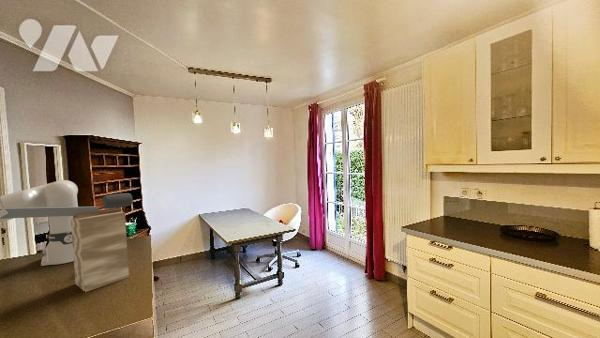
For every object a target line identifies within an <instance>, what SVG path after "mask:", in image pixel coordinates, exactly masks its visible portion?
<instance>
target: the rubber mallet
mask: <svg viewBox="0 0 600 338" xmlns="http://www.w3.org/2000/svg"><path fill="white" fill-rule="evenodd" d="M132 204H133V195H132V194H131V193H129V192H125V193H114V194H109V195H104V196H103V197H102V206H103V208H104V209H111V208H117V209H122V208H124V207H128V206H129V207H130V206H131V205H132Z"/></svg>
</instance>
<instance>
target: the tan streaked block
mask: <svg viewBox="0 0 600 338" xmlns="http://www.w3.org/2000/svg"><path fill="white" fill-rule="evenodd" d="M126 225H127V224H126V212H125V211H122V208H121V209H117V208H110V209H105V208H104V209H99V212H94V213H88V214H81V215H77V216H71V229H72V243H73V257H74V261H73V269H74V282H75V286H77V287H79V289H81V290H82V291H83V292H84V291H85V292H84V293H87V292H90V291H92V290H93V291H94V290H96V289H98V288H101V287H105V286H107V285H110V284H113V283H117V282H119V281H121V280H125V279H128V278H130V273H129V272H130V271H129V270H130V269H129V257H128V255H129V253H128V242H127V226H126Z"/></svg>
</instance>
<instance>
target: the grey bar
mask: <svg viewBox="0 0 600 338" xmlns="http://www.w3.org/2000/svg"><path fill="white" fill-rule="evenodd" d="M1 209H5V210H6V211H7V212H8V214H6V215H4V216H2V217H1V218H0V219H5V218H14V219H25V218H26V219H27V218H28V219H29V218H47V217H48V218H49V217H57V216H77V215H81V214H88V213H94V212H99V210H100V206H97V205H96V206H78V207H38V208H0V210H1Z"/></svg>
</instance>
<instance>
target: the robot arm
mask: <svg viewBox="0 0 600 338" xmlns="http://www.w3.org/2000/svg"><path fill="white" fill-rule="evenodd" d="M78 193H79V188H78V185H77V184H76V183H75V182H73V181H71V180H66V179H63V180H57V181H53V182H50V183H46V184H41V185H38V186H34V187H30V188H27V189H22V190H20V191H16V192H15V191H14V192H11V193H7V194H4V195H1V196H0V208H38V207H79V204H78ZM6 214H8V212H7V211H6V210H5V209H1V210H0V218H1V217H2V216H4V215H6ZM12 219H15V218H5V219H0V223H2V222H6V221H10V220H12ZM48 224H49V233H48V241H49V242H48V244H47V245H46V247H45V248H43V249H42V254H43V256H42V257H41V262H40V266H41V267H43V266H50V265H52V266H53V265H62V264H63V265H64V264H67V263H71V262H74V257H73V243H72V229H71V216H57V217H48Z"/></svg>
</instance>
